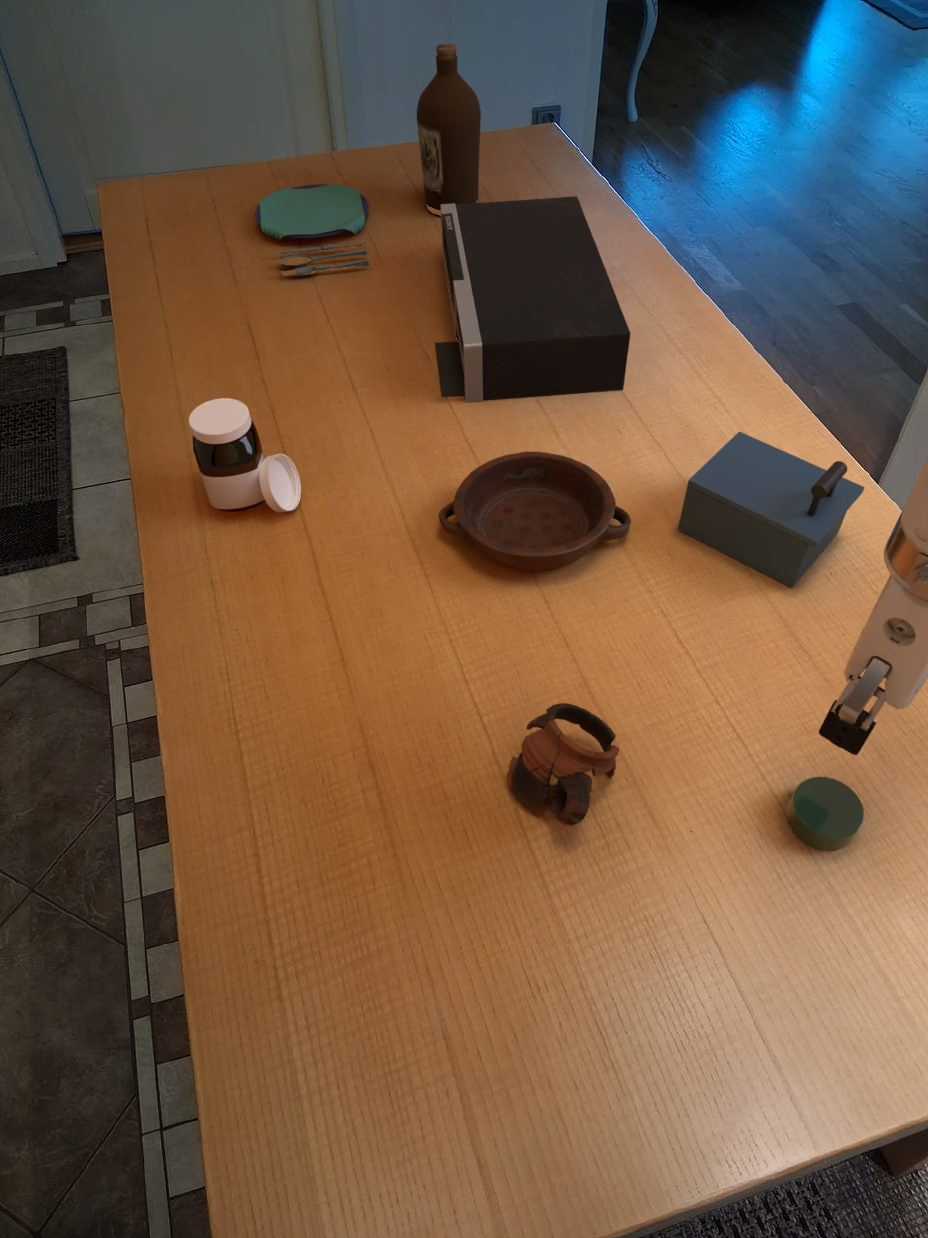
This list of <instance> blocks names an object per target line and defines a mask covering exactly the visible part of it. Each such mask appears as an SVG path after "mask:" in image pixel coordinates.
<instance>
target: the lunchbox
mask: <svg viewBox="0 0 928 1238" xmlns="http://www.w3.org/2000/svg"><path fill="white" fill-rule="evenodd" d="M846 514H847V512H846V513H845V514H844V515H843V516H842V517H841V519H840V520H839V521H838V522H837V523H836V524H835V526H834V527H833V528H832V529H831V530H830V532H829V533H828V534H827V535H826V536H825V537H824V539H823V540H822V541H821V542H820V543H819V545H818V546H817V547H816V548H815V547H813V546H811V545H809V544H807V543H805V542H803V541H801V540H799V539H797V538H795V537H793V536H791V535H788V534H786V533H784V532H782V531H780V530H778V529H776V528H774V527H772V526H770V525H768V524H766V523H764V522H762V521H760V520H758V519H756V518H754V517H752V516H750V515H748V514H745V513H743V512H741V511H739V510H737V509H735V508H733V507H731V506H729V505H727V504H725V503H723V502H721V501H719V500H717V499H715V498H713V497H711V496H709V495H707V494H704V493H702V492H700V491H698V490H696V489H694V488H692V487H690V486H688V485H686V489H685V495H684V498H683V504H682V508H681V513H680V517H679V521H678V526H677V530H678V531H679V532H681V533H683V534H685V535H686V536H689V537H691V538H693V539H694V540H697V541H699V542H700V543H702V544H705V545H706V546H709V547H710V548H712V549H714V550H716V551H718V552H720V553H722V554H724V555H726V556H727V557H729V558H731V559H734V560H736V561H738V562H740V563H742V564H743V565H745V566H748V567H749V568H752V569H754V570H755V571H758V572H759V573H761V574H763V575H765V576H767V577H768V578H772V580H775V581H777V582H779V583H781V584H783V585H785V586H787V587H788V588H790V589H793V588H794V587H795V585H796V584H797V583H798V582H799V581H800V579H801V578H802V577H803V576H804V574H806V573H807V571H808V570H809V569H810V568H811V567H812V565H813V564H814V563H815V562H816V560H818V558H819V557H820V556H821V554H822V553H823V552H824V551H825V550H826V548H828V546H829V545H830V544H831V542H833V540H834V539H835V538H836V537H837V535H838V534H839V531H840V529H841V527H842V524H843V522H844V520H845V517H846Z"/></svg>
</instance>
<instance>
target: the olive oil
mask: <svg viewBox="0 0 928 1238" xmlns="http://www.w3.org/2000/svg"><path fill="white" fill-rule="evenodd" d="M435 48H436V49H435V51H436V55H435V63H436V65H435V66H436V73H435V75H434V77H433V78H432V79H431V80H430V82H428V84H427V86H426V87H425V88H424V89H423V91H422V93H420V96H419V99H418V102H417V106H416V124H417V125H416V126H417V134H418V142H419V151H420V153H419V154H420V162H421V171H422V183H423V192H424V203H425V202H426V204H427V205H428V206H429V207H432V208H434V209H437V210H441V204H455V205H457V204H471V203H476V202H477V200H478V201H479V182H480V181H479V179H480V178H479V177H480V149H481V148H480V146H481V145H480V144H481V123H482V122H481V121H482V110H481V106H480V101H479V99H478V96H477V94H476V91H475V90H474V89H473V88H472V87H471V86H470V85H469V84H468V82H467V81H466V80H465V79H464V78H463V77H462V76H461V74H459V71H458V54H457V46H456V44H454V43H449V42H448V43H446V42H445V43H440V44H438V45H437V46H436V47H435ZM426 204H425V205H426Z"/></svg>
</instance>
